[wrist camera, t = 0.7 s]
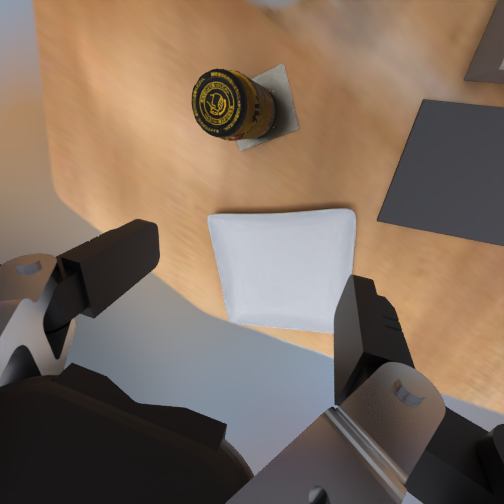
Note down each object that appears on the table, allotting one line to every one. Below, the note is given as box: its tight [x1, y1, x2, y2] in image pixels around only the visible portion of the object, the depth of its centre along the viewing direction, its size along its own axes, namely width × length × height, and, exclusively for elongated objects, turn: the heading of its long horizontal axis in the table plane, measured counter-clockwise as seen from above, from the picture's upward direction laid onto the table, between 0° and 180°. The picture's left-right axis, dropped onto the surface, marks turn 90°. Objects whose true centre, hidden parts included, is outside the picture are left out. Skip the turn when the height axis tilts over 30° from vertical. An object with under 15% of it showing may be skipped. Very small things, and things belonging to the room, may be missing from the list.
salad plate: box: [207, 208, 356, 334], centre depth 39 cm, size 21×21×3 cm
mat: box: [377, 99, 504, 246], centre depth 28 cm, size 14×20×1 cm
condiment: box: [192, 63, 299, 151], centre depth 26 cm, size 7×8×12 cm
